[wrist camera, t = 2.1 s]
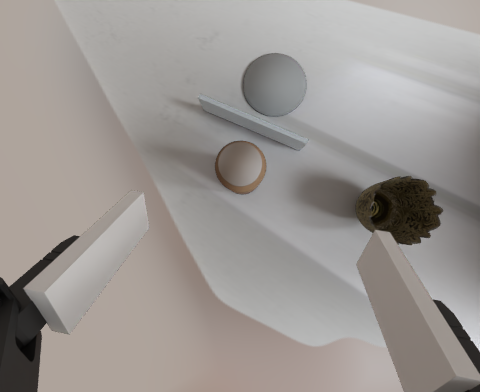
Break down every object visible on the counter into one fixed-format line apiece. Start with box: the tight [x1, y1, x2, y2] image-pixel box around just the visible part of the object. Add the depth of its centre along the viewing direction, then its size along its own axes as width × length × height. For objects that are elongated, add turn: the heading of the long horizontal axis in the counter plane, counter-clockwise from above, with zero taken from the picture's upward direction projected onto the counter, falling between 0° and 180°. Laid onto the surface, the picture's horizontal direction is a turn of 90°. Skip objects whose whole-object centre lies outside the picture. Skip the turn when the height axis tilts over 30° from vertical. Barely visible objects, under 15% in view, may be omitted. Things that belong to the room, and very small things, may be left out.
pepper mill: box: [215, 141, 266, 194], centre depth 27 cm, size 5×5×12 cm
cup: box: [356, 176, 443, 245], centre depth 28 cm, size 8×7×8 cm
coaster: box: [244, 53, 307, 116], centre depth 32 cm, size 9×9×1 cm
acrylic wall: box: [198, 94, 309, 151], centre depth 31 cm, size 15×1×4 cm, turn 66°
